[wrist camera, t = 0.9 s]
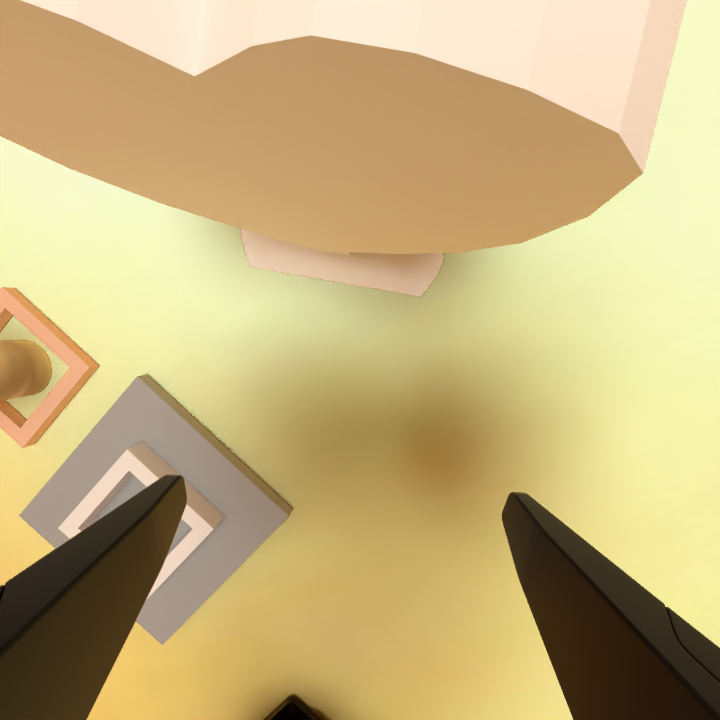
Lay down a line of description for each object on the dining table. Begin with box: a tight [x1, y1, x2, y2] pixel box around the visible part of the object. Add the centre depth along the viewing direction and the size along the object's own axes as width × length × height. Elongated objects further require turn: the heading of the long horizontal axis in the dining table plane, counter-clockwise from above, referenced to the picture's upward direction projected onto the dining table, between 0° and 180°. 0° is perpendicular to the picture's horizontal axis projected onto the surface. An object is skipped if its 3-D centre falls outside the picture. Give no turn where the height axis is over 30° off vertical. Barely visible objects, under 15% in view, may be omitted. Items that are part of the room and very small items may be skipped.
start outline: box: [0, 287, 99, 448], centre depth 24 cm, size 8×8×1 cm
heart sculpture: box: [0, 0, 687, 296], centre depth 13 cm, size 16×5×18 cm, turn 80°
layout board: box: [19, 375, 293, 645], centre depth 23 cm, size 14×14×2 cm
